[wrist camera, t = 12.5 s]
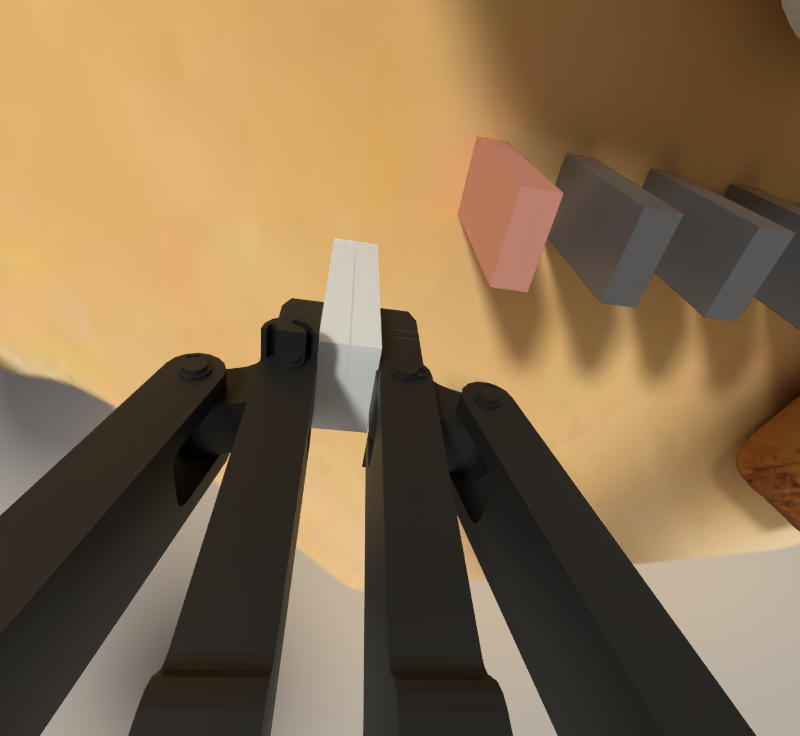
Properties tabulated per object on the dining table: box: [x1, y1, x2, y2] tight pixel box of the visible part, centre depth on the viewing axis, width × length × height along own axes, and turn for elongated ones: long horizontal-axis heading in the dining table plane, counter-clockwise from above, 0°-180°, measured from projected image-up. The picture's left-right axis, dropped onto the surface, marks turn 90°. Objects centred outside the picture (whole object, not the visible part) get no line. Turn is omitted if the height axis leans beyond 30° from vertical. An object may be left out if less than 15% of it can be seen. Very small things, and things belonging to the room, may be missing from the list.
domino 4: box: [724, 184, 800, 330], centre depth 30 cm, size 5×2×11 cm, turn 170°
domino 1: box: [458, 137, 563, 292], centre depth 27 cm, size 5×2×11 cm, turn 170°
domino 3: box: [643, 169, 796, 321], centre depth 29 cm, size 5×2×11 cm, turn 170°
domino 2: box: [548, 153, 684, 308], centre depth 28 cm, size 5×2×11 cm, turn 170°
